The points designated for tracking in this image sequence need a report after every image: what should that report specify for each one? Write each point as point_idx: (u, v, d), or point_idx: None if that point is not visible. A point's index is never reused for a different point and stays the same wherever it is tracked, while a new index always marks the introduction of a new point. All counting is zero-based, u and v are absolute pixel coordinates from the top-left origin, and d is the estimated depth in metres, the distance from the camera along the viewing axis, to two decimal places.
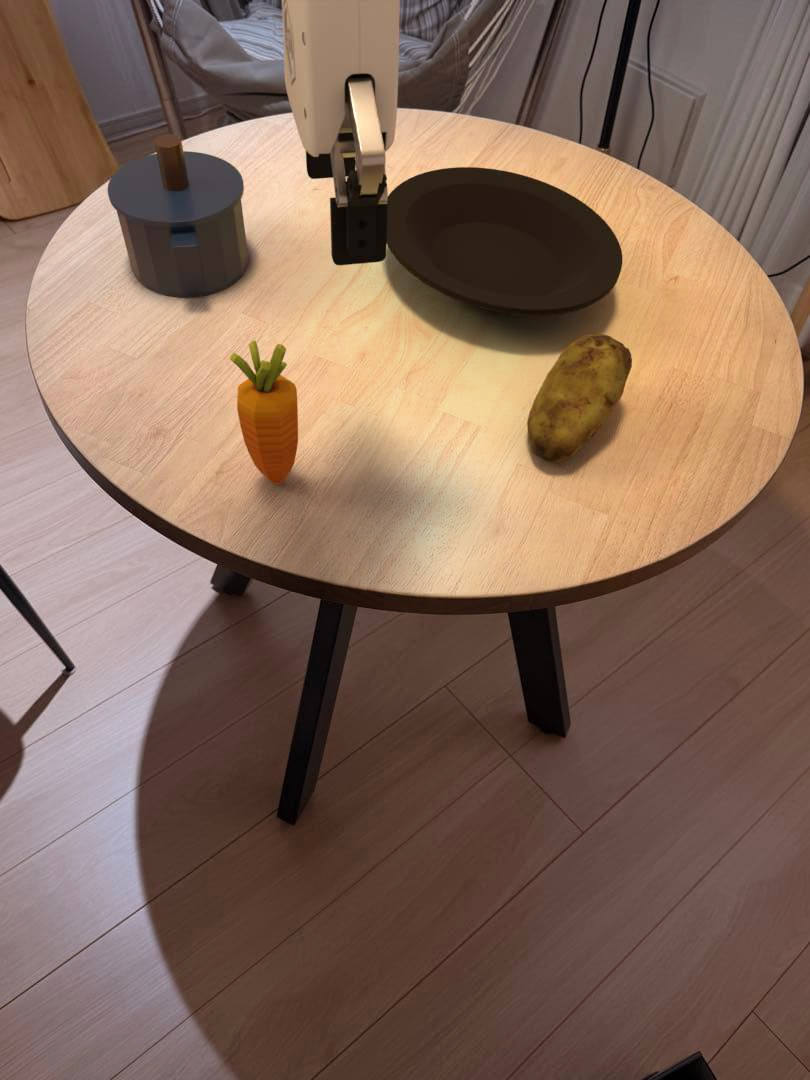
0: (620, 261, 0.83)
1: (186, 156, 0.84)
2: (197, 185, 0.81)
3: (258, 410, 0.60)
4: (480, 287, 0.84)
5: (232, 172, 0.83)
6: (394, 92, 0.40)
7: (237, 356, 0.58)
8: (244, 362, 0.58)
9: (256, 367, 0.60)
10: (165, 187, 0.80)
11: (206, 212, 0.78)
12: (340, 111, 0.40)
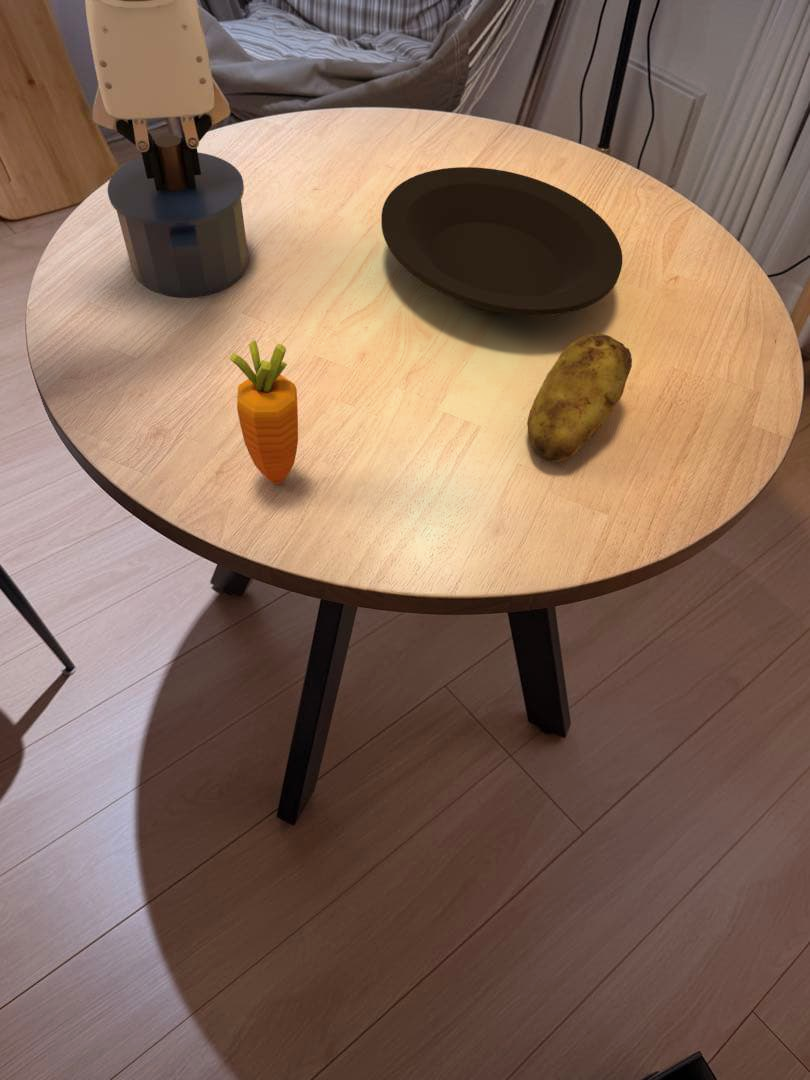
0: (620, 261, 0.83)
1: None
2: (197, 185, 0.81)
3: (258, 410, 0.60)
4: (480, 287, 0.84)
5: (232, 172, 0.83)
6: (100, 81, 0.70)
7: (237, 356, 0.58)
8: (244, 362, 0.58)
9: (256, 367, 0.60)
10: (165, 187, 0.80)
11: (206, 212, 0.78)
12: None
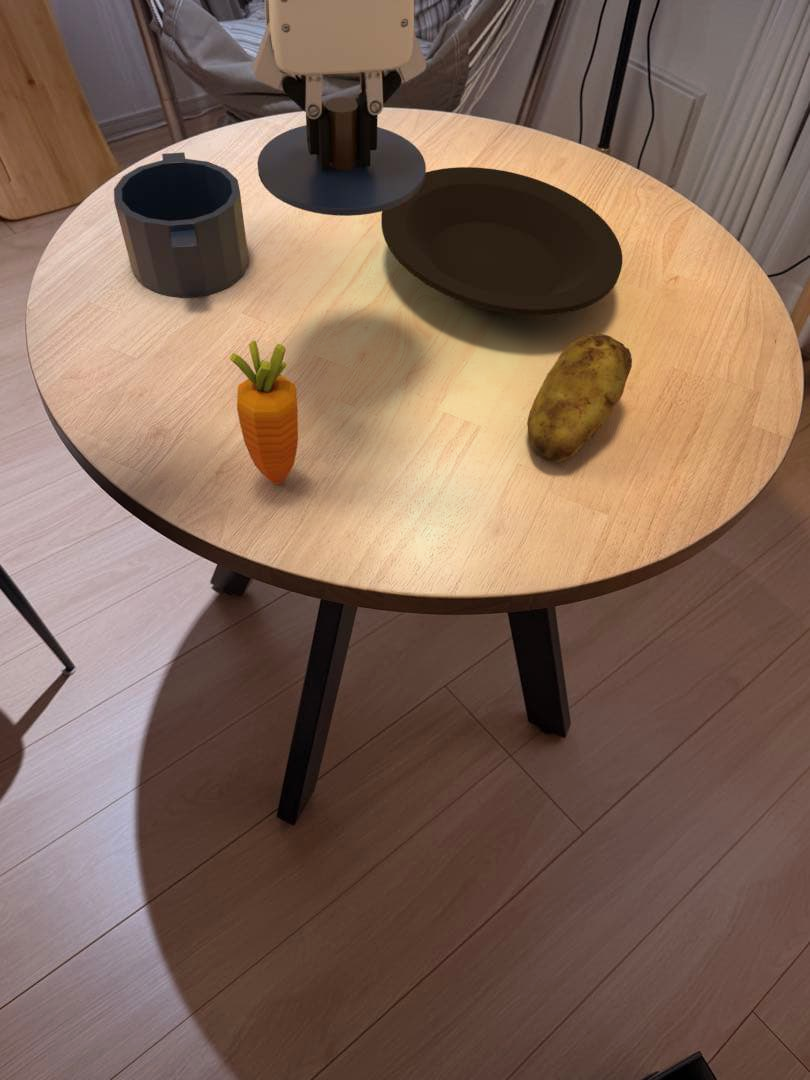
0: (620, 261, 0.83)
1: None
2: None
3: (258, 410, 0.60)
4: (480, 287, 0.84)
5: (407, 147, 0.66)
6: (275, 22, 0.53)
7: (237, 356, 0.58)
8: (244, 362, 0.58)
9: (256, 367, 0.60)
10: (330, 165, 0.63)
11: (388, 196, 0.61)
12: (265, 16, 0.55)
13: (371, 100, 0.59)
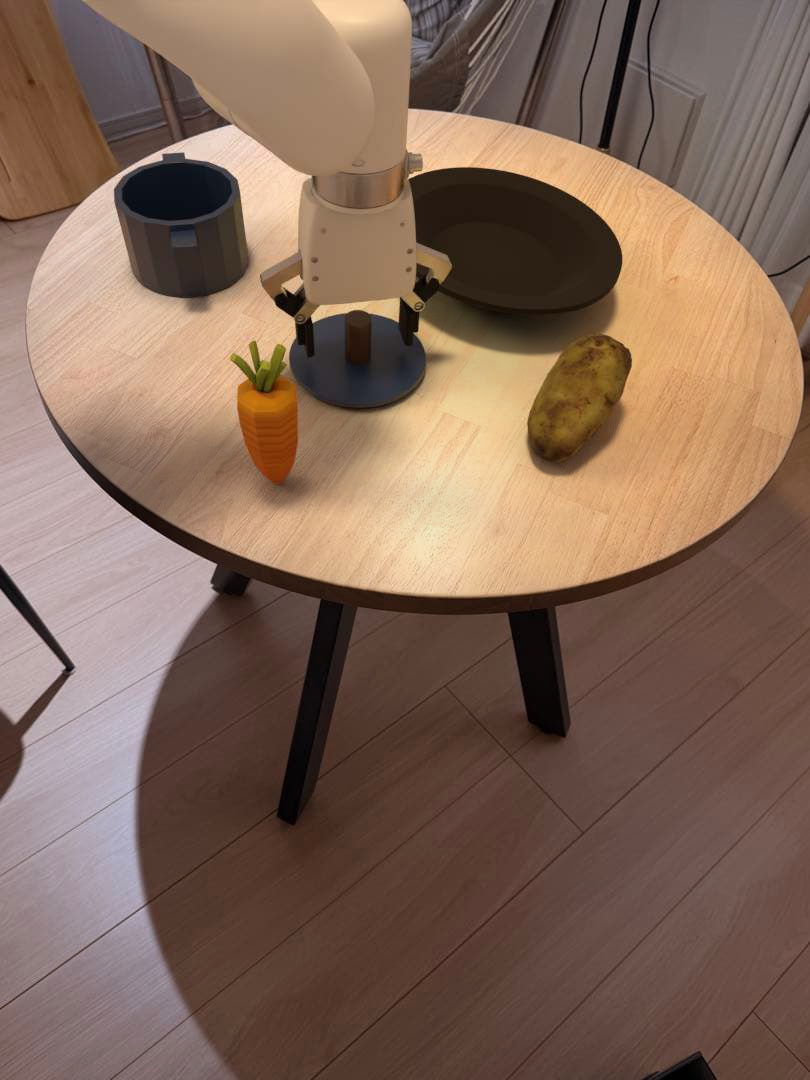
0: (620, 261, 0.83)
1: None
2: (379, 355, 0.78)
3: (258, 410, 0.60)
4: (480, 287, 0.84)
5: None
6: (307, 274, 0.67)
7: (237, 356, 0.58)
8: (244, 362, 0.58)
9: (256, 367, 0.60)
10: (348, 359, 0.78)
11: (395, 390, 0.76)
12: None
13: (413, 304, 0.73)
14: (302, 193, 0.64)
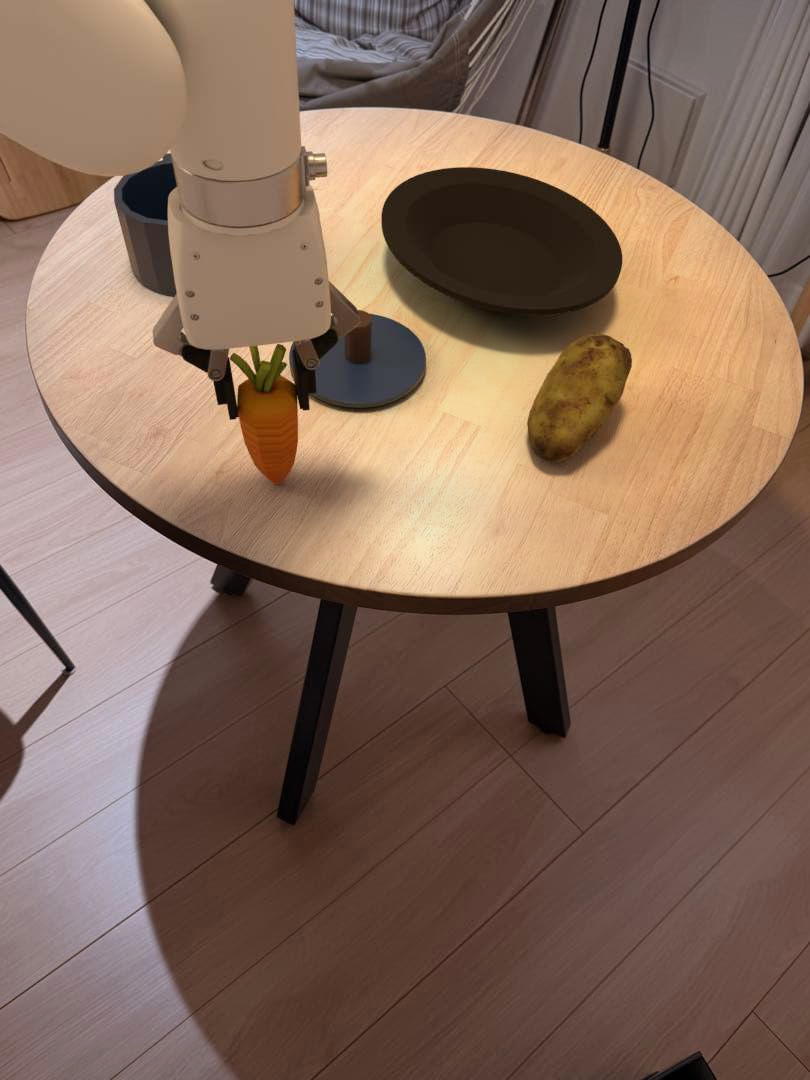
0: (620, 261, 0.83)
1: None
2: (379, 355, 0.78)
3: (258, 410, 0.60)
4: (480, 287, 0.84)
5: (411, 338, 0.80)
6: (183, 312, 0.51)
7: (237, 356, 0.58)
8: (244, 362, 0.58)
9: (257, 367, 0.60)
10: (348, 359, 0.78)
11: (395, 390, 0.76)
12: None
13: (305, 359, 0.58)
14: (168, 206, 0.48)
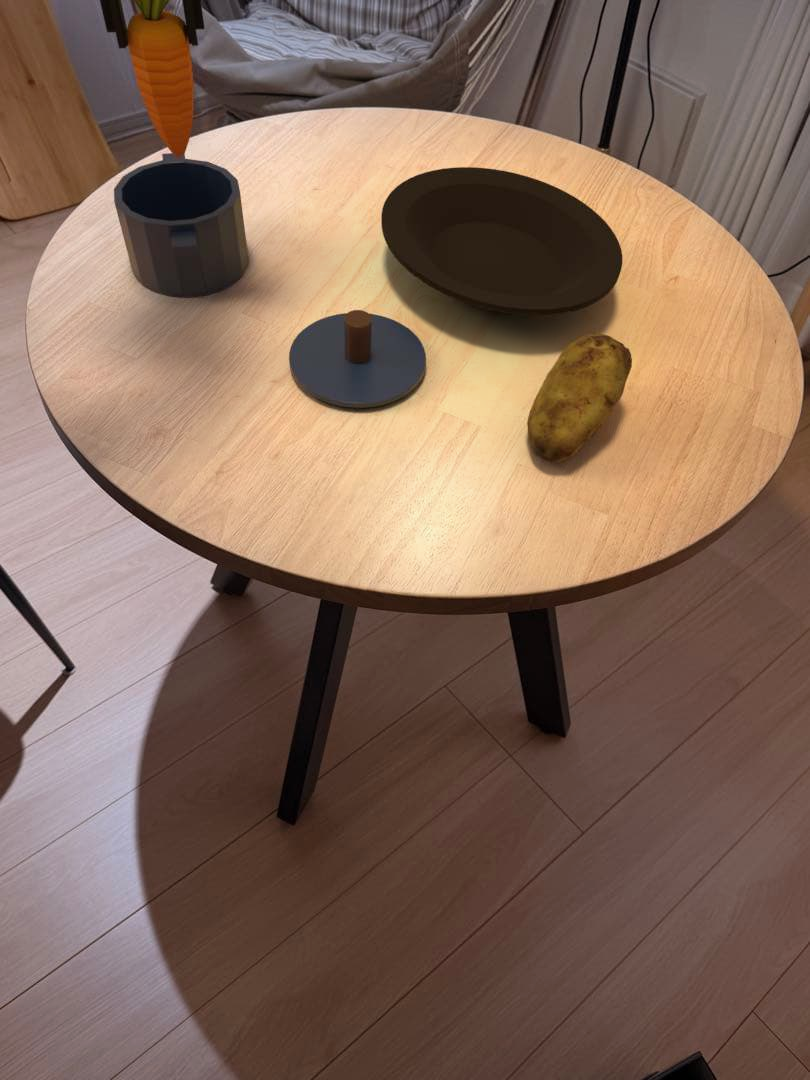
0: (620, 261, 0.83)
1: None
2: (379, 355, 0.78)
3: (145, 34, 0.62)
4: (480, 287, 0.84)
5: (411, 338, 0.80)
6: None
7: None
8: None
9: None
10: (348, 359, 0.78)
11: (395, 390, 0.76)
12: None
13: None
14: None
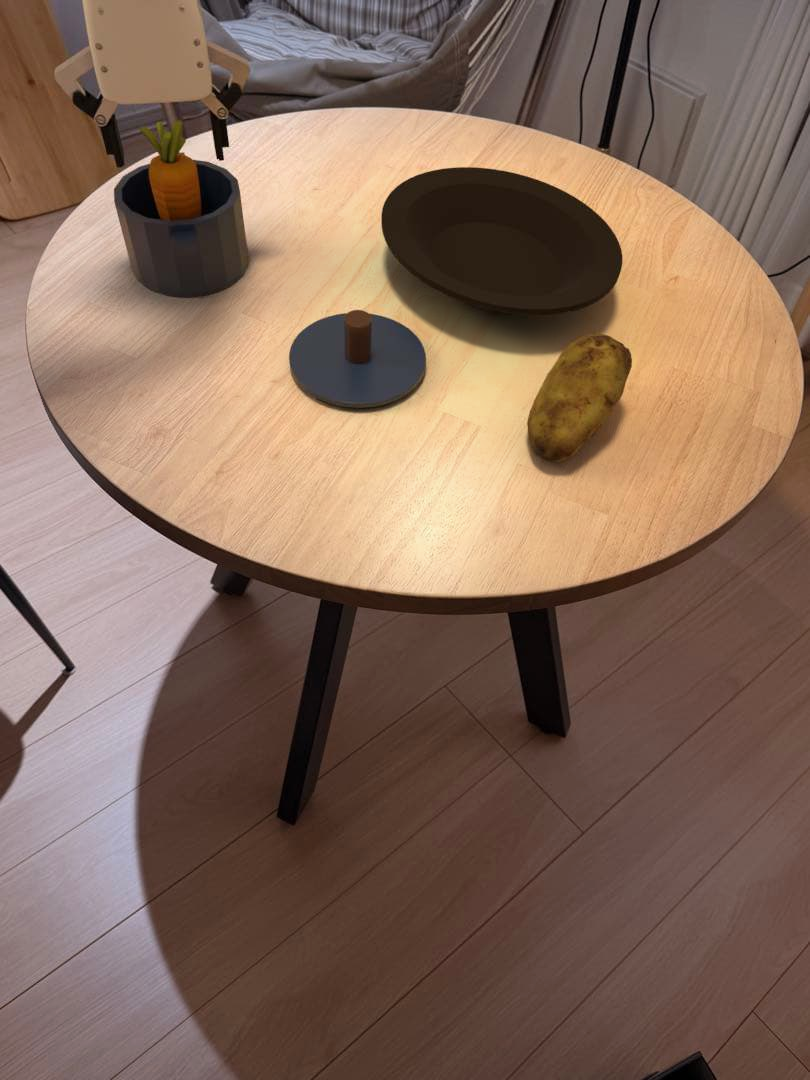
0: (620, 261, 0.83)
1: None
2: (379, 355, 0.78)
3: (163, 175, 0.78)
4: (480, 287, 0.84)
5: (411, 338, 0.80)
6: (95, 65, 0.69)
7: (145, 128, 0.76)
8: (151, 134, 0.76)
9: None
10: (348, 359, 0.78)
11: (395, 390, 0.76)
12: None
13: (216, 110, 0.75)
14: None
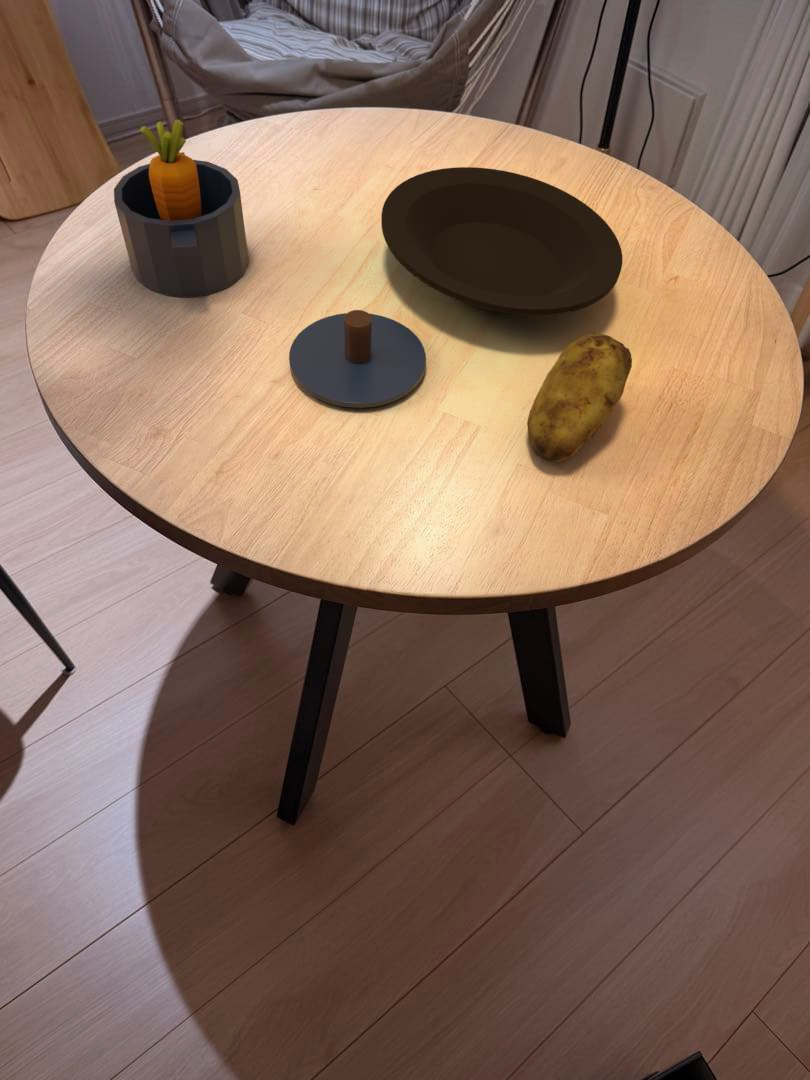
0: (620, 261, 0.83)
1: None
2: (379, 355, 0.78)
3: (163, 175, 0.78)
4: (480, 287, 0.84)
5: (411, 338, 0.80)
6: None
7: (145, 128, 0.76)
8: (151, 134, 0.76)
9: None
10: (348, 359, 0.78)
11: (395, 390, 0.76)
12: None
13: None
14: None
